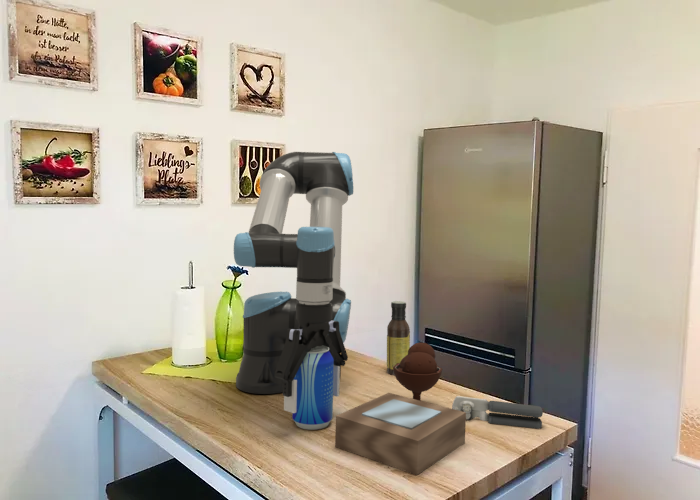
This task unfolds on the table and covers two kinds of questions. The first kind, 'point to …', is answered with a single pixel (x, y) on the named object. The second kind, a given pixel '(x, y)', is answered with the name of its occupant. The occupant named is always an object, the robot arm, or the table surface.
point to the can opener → (499, 412)
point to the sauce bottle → (397, 336)
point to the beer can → (315, 390)
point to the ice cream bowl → (418, 369)
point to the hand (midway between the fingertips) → (312, 403)
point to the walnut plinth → (401, 432)
